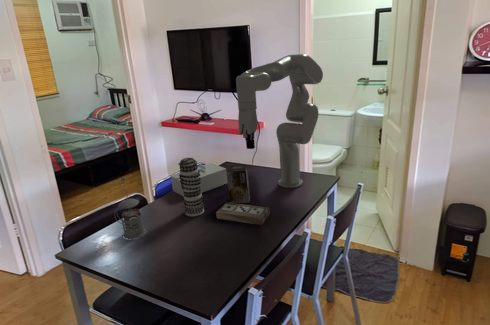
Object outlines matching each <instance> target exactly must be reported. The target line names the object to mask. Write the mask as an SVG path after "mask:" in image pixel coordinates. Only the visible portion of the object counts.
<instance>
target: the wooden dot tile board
mask: <svg viewBox="0 0 490 325" xmlns="http://www.w3.org/2000/svg"><path fill="white" fill-rule="evenodd" d="M226 204H229V205H237V207H236V208H235V209H234V210H233V212H228V211H221V209H222V208H223V207H224V206H225V205H226ZM239 206H245V207H250V208H251V209H250V210H249V211H248V213H247V214H243V213H236V212H235V210H236V209H237V208H238V207H239ZM253 208H261V209H264V211H265V212H264V213H263V214H262V215H261V216H258V215H251V214H249V212H250V211H251V210H252V209H253ZM270 212H271V210H270V207H267V206H259V205H251V204H244V203H230V202H225V204H223V205H222V206H221V207H220V208H218V210H217V211H216V212H215V215H216V219H218V220H224V221H232V222H238V223H245V224H252V225H260V226H262V225H263V224H264V223H265V221H266V220H267V219H268V218H269V217H270V214H271V213H270Z"/></svg>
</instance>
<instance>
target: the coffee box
mask: <svg viewBox="0 0 490 325" xmlns="http://www.w3.org/2000/svg"><path fill="white" fill-rule="evenodd" d="M226 173H227V181H228V183H227V188H228V197H229V203H235V204H249V203H250V199H251V194H250V184H249V174H248V173H249V172H248V166H247V165H241V166H227V169H226Z"/></svg>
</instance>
